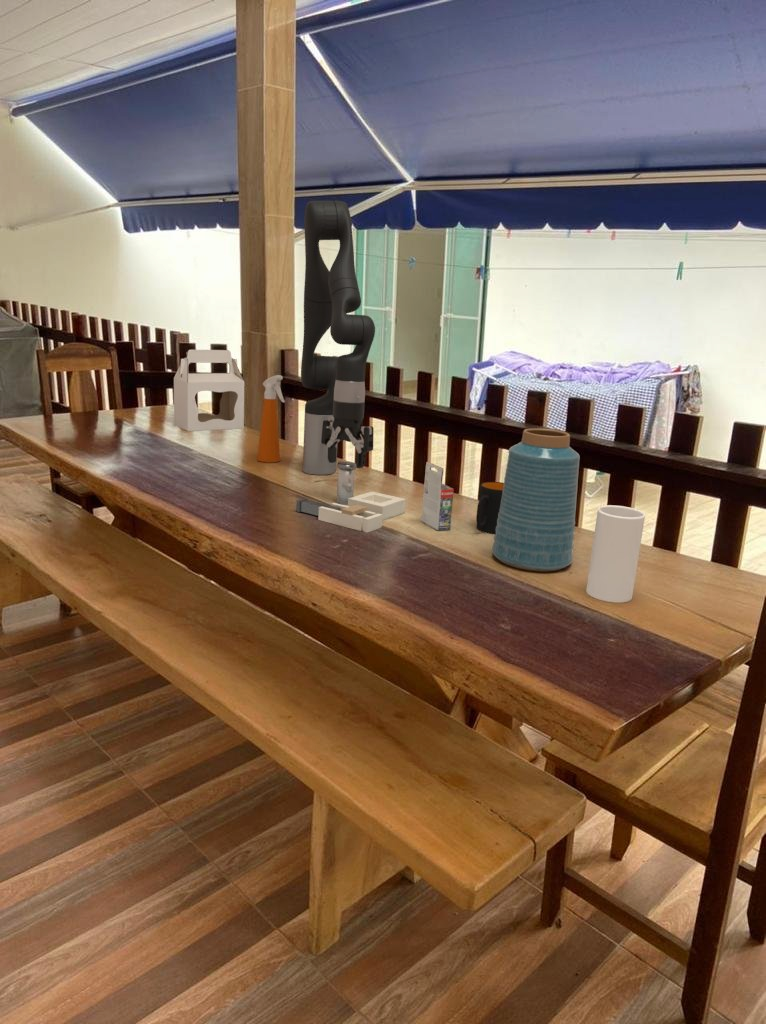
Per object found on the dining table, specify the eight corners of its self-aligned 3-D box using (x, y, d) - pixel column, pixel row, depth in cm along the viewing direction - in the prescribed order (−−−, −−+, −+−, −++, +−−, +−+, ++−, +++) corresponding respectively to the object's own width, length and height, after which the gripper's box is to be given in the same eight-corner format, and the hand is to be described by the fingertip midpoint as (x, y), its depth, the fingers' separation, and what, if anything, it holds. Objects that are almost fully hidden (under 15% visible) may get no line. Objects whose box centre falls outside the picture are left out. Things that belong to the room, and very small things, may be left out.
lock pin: (304, 508, 187) (304, 498, 186) (340, 518, 181) (340, 506, 180) (296, 511, 184) (296, 500, 184) (332, 520, 179) (332, 509, 178)
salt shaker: (342, 499, 199) (344, 460, 196) (357, 502, 196) (359, 463, 193) (331, 502, 195) (333, 463, 192) (346, 506, 192) (348, 466, 190)
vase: (578, 557, 165) (595, 432, 158) (562, 579, 150) (580, 443, 143) (504, 543, 171) (517, 422, 164) (481, 563, 157) (494, 432, 150)
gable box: (229, 422, 299) (230, 348, 291) (244, 428, 288) (245, 352, 281) (173, 425, 286) (172, 347, 278) (187, 431, 276) (186, 351, 268)
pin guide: (333, 515, 184) (334, 499, 183) (381, 527, 177) (383, 510, 176) (318, 519, 179) (319, 503, 178) (367, 532, 172) (368, 515, 171)
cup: (580, 585, 148) (591, 504, 143) (621, 586, 149) (634, 506, 144) (595, 602, 140) (607, 516, 136) (639, 603, 141) (652, 518, 136)
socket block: (371, 505, 195) (372, 491, 194) (404, 513, 190) (405, 499, 189) (347, 512, 187) (348, 498, 186) (381, 521, 181) (382, 506, 180)
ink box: (434, 520, 185) (439, 460, 181) (451, 530, 178) (456, 467, 174) (420, 521, 183) (425, 461, 179) (437, 531, 176) (442, 468, 172)
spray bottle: (272, 466, 230) (274, 376, 223) (252, 459, 238) (253, 372, 231) (291, 464, 235) (294, 376, 228) (271, 457, 243) (274, 371, 235)
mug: (460, 531, 178) (464, 487, 175) (488, 522, 187) (493, 480, 184) (490, 540, 173) (495, 494, 170) (518, 530, 182) (523, 487, 179)
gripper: (382, 401, 188) (378, 467, 192) (335, 395, 195) (332, 458, 199) (363, 403, 182) (360, 471, 186) (316, 396, 189) (313, 462, 193)
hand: (345, 465), depth 193 cm, fingers open, 8 cm apart
